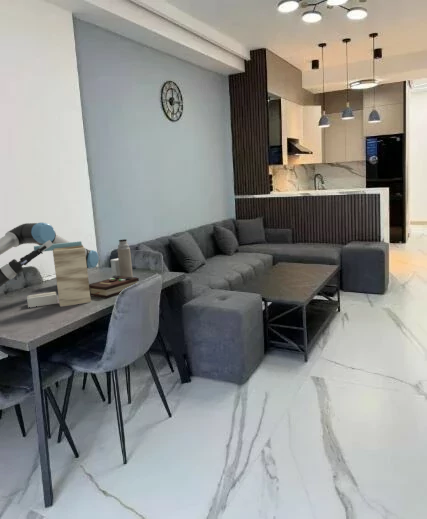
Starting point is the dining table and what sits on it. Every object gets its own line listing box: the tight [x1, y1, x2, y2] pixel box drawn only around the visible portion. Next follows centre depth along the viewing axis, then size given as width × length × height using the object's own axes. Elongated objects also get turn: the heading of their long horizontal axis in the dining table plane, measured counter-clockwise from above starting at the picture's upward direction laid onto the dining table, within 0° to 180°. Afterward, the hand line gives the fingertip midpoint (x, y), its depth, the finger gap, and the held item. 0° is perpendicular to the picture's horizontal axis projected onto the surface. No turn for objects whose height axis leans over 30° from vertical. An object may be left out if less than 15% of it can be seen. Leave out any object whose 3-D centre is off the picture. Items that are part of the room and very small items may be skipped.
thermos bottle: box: [117, 238, 134, 277], centre depth 283 cm, size 8×8×28 cm
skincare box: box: [110, 257, 120, 278], centre depth 291 cm, size 8×6×15 cm
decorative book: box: [89, 275, 140, 299], centre depth 261 cm, size 19×8×30 cm
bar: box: [33, 240, 83, 252], centre depth 235 cm, size 3×24×3 cm, turn 111°
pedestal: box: [52, 244, 92, 307], centre depth 239 cm, size 10×16×31 cm, turn 111°
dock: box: [26, 291, 58, 309], centre depth 243 cm, size 8×15×5 cm, turn 111°
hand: (51, 242), depth 233 cm, fingers closed on bar, 3 cm apart
